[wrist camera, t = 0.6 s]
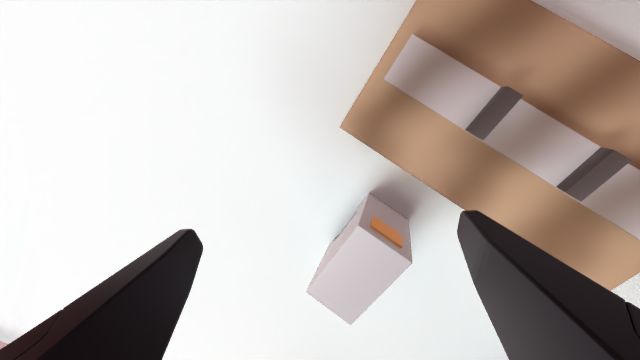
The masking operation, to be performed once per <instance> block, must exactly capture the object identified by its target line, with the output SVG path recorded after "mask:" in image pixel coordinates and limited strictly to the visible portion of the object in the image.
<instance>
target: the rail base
mask: <svg viewBox="0 0 640 360" xmlns="http://www.w3.org/2000/svg"><path fill="white" fill-rule="evenodd" d="M340 128H341V129H343V130H345V131H346V132H348V133H349V134H351V135H352V136H354V137H355V138H357V139H358V140H360V141H361V142H363V143H364V144H366V145H367V146H369V147H370V148H372V149H373V150H375V151H376V152H378V153H379V154H381V155H382V156H384V157H385V158H387V159H388V160H390V161H391V162H393V163H394V164H396V165H397V166H399V167H401V168H402V169H404V170H405V171H407V172H408V173H410V174H411V175H413V176H414V177H416V178H417V179H419V180H420V181H422V182H423V183H425V184H426V185H428V186H429V187H431V188H432V189H434V190H435V191H437V192H438V193H440V194H441V195H443V196H444V197H446V198H447V199H449V200H450V201H452V202H453V203H455V204H457V205H458V206H460V207H461V208H463V209H464V210H478V211H480V212H481V213H483V214H485V215H486V216H488V217H490V218H491V219H493V220H495V221H496V222H498V223H499V224H501V225H503V226H504V227H506V228H508V229H509V230H511V231H513V232H514V233H516V234H518V235H519V236H521V237H522V238H524V239H526V240H527V241H529V242H531V243H532V244H534V245H536V246H537V247H539V248H541V249H542V250H544V251H545V252H547V253H549V254H550V255H552V256H554V257H555V258H557V259H559V260H560V261H562V262H564V263H565V264H567V265H569V266H570V267H572V268H573V269H575V270H577V271H578V272H580V273H582V274H583V275H585V276H587V277H588V278H590V279H592V280H593V281H595V282H596V283H598V284H600V285H601V286H603V287H605V288H606V289H608V290H610V291H611V290H612V289H614V288H615V287H617V286H619V285H620V284H622V283H623V282H625V281H626V280H628V279H630V278H631V277H633V276H634V275H636V274H638V273H639V272H640V61H639V60H637V59H635V58H633V57H631V56H630V55H628V54H626V53H624V52H622V51H621V50H619V49H617V48H615V47H613V46H612V45H610V44H608V43H606V42H604V41H603V40H601V39H599V38H597V37H595V36H594V35H592V34H590V33H588V32H587V31H585V30H583V29H581V28H579V27H578V26H576V25H574V24H572V23H570V22H569V21H567V20H565V19H563V18H561V17H560V16H558V15H556V14H554V13H552V12H551V11H549V10H547V9H545V8H544V7H542V6H540V5H538V4H536V3H535V2H533V1H531V0H417V1H416V2H415V4H414V6H413V7H412V9H411V11H410V12H409V14H408V16H407V17H406V19H405V20H404V22H403V24H402V25H401V27H400V29H399V30H398V32H397V34H396V35H395V37H394V39H393V40H392V42H391V43H390V45H389V47H388V48H387V50H386V52H385V53H384V55H383V57H382V58H381V60H380V62H379V63H378V65H377V66H376V68H375V70H374V71H373V73H372V75H371V76H370V78H369V80H368V81H367V83H366V85H365V86H364V88H363V89H362V91H361V93H360V94H359V96H358V98H357V99H356V101H355V103H354V104H353V106H352V108H351V109H350V111H349V113H348V114H347V116H346V117H345V119H344V121H343V122H342V124H341V126H340Z"/></svg>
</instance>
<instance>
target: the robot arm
mask: <svg viewBox="0 0 640 360" xmlns="http://www.w3.org/2000/svg"><path fill="white" fill-rule="evenodd" d="M457 234H458V239H459V242H460V245H461V248H462V251H463V254H464V257H465V259H466V262H467V265H468V268H469V271H470V274H471V277H472V280H473V283H474V285H475V287H476V290H477V292H478V294H479V296H480V298H481V301H482V303H483V305H484V307H485V309H486V311H487V313H488V316H489V318H490V320H491V322H492V324H493V326H494V328H495V330H496V333H497V335H498V337H499V339H500V341H501V343H502V345H503V348H504V350H505V352H506V354H507V356H508V358H509V360H640V309H639V308H638V307H636V306H634V305H633V304H631V303H629V302H625V300H624V299H623V298H621V297H619V296H618V295H616V294H615V293H613V292H611V291H610V290H608V289H606V288H605V287H603V286H601V285H600V284H598V283H596V282H595V281H593V280H592V279H590V278H588V277H587V276H585V275H583V274H582V273H580V272H578V271H577V270H575V269H573V268H572V267H570V266H569V265H567V264H565V263H564V262H562V261H560V260H559V259H557V258H555V257H554V256H552V255H550V254H549V253H547V252H545V251H544V250H542V249H541V248H539V247H537V246H536V245H534V244H532V243H531V242H529V241H527V240H526V239H524V238H522V237H521V236H519V235H518V234H516V233H514V232H513V231H511V230H509V229H508V228H506V227H504V226H503V225H501V224H499V223H498V222H496V221H495V220H493V219H491V218H490V217H488V216H486V215H485V214H483V213H481V212H480V211H478V210H466V211H462V212H461V214H460V219H459V224H458V229H457ZM202 252H203V245H202V243H201V241H200V239H199V238H198V236H197V234H196V233H195V231H194V230H193V229H182V230H179V231H177V232H176V233H175V234H173V235H172V236H170V237H169V238H167V239H166V240H164V241H163V242H161V243H160V244H158V245H157V246H155V247H154V248H152V249H151V250H149V251H148V252H146V253H145V254H143V255H142V256H140V257H139V258H137V259H136V260H134V261H133V262H131V263H130V264H128V265H127V266H125V267H124V268H122V269H121V270H120V271H118V272H117V273H115V274H114V275H112V276H111V277H109V278H108V279H106V280H105V281H103V282H102V283H100V284H99V285H97V286H96V287H94V288H93V289H91V290H90V291H88V292H87V293H85V294H84V295H82V296H81V297H79V298H78V299H76V300H75V301H73V302H72V303H70V304H69V305H67V306H66V307H65V308H64V309H63V310H60V311H58V312H57V313H55V314H54V315H53V316H51V317H50V318H48V319H47V320H45V321H44V322H42V323H41V324H39V325H38V326H36V327H34V328H33V329H31V330H30V331H28V332H27V333H25V334H24V335H22V336H21V337H19V338H18V339H16V340H14V341H13V342H11V343H10V344H8V345H7V346H5V347H3V348H2V349H0V360H162V358H163V355H164V353H165V351H166V348H167V346H168V343H169V341H170V339H171V336H172V334H173V331H174V329H175V327H176V324H177V322H178V319H179V317H180V315H181V312H182V310H183V307H184V305H185V303H186V300H187V298H188V295H189V293H190V290H191V287H192V284H193V281H194V278H195V274H196V271H197V268H198V265H199V261H200V258H201V255H202Z"/></svg>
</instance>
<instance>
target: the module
mask: <svg viewBox="0 0 640 360" xmlns="http://www.w3.org/2000/svg"><path fill="white" fill-rule="evenodd" d="M411 264H412V254H411V242H410V230H409V220H408V219H406V218H405V217H403V216H402V215H400V214H399V213H398V212H396V211H395V210H393V209H392V208H390V207H389V206H387V205H386V204H384V203H383V202H381V201H380V200H378V199H377V198H375V197H374V196H373V195H371V194H370V193H369V194H368V195H367V196H366V198H365V199H364V200H363V202H362V203H361V204H360V206H359V208H358V211H357V212H356V214H355V215H354V216H353V218H352V219H351V220H350V221H349V223H348V224H347V225H346V227H345V228H344V229H343V231H342V232H341V233H340V235H339V236H338V237H336V238H335V239H334V240H333V241H332V243H331V244H330V245H329V247H328V248H327V250H326V252H325V254H324V256H323V258H322V260H321V262H320V264H319V266H318V268H317V270H316V272H315V274H314V276H313V278H312V281H311V283H310V285H309V287H308V289H307V291H306V292H307V293H308V294H309V295H311V296H312V297H313V298H315V299H316V300H317V301H319V302H320V303H322V304H323V305H324V306H326V307H327V308H328V309H330V310H331V311H332V312H334V313H335V314H336V315H338V316H339V317H340V318H342V319H343V320H344V321H346V322H347V323H348V324H350V325H351V324H352V323H353V322H354V321H355V320H356V319H357V318H358V317H359V316H360V315H361V314H362V313H363V312H364V311H365V310H366V309H367V308H368V307H369V306H370V305H371V304H372V303H373V302H374V301H375V300H376V299H377V298H378V297H379V296H380V295H381V294H382V293H383V292H384V291H385V290H386V289H387V288H388V287H389V286H390V285H391V284H392V283H393V282H394V281H395V280H396V279H397V278H398V277H399V276H400V275H401V274H402V273H403V272H404V271H405V270H406V269H407V268H408V267H409V266H410V265H411Z"/></svg>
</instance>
